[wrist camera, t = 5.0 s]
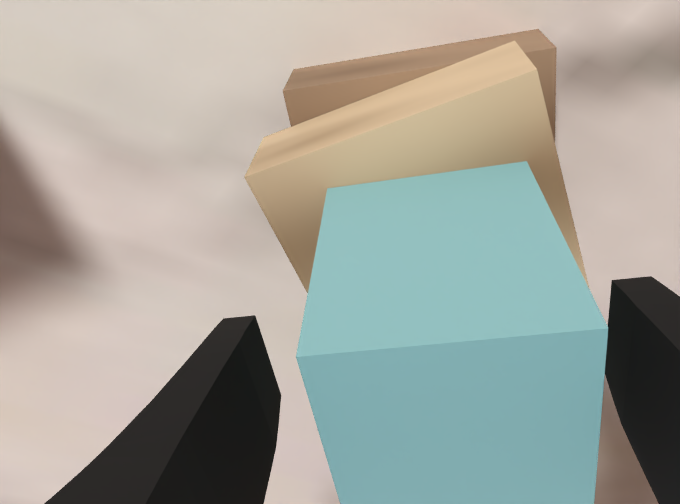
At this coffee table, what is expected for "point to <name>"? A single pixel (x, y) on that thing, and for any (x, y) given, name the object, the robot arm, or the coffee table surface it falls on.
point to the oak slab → (411, 145)
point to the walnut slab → (405, 74)
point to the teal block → (452, 344)
